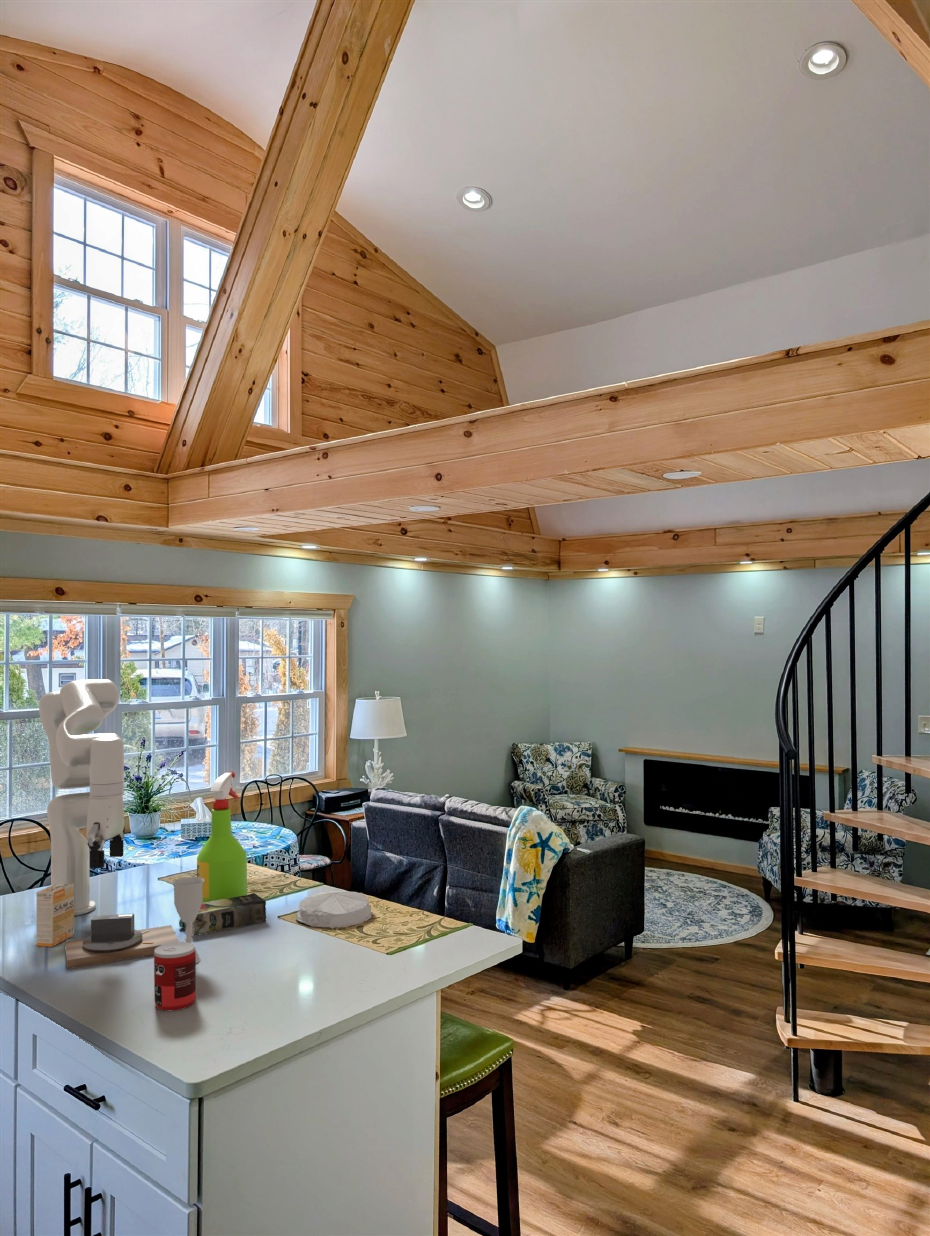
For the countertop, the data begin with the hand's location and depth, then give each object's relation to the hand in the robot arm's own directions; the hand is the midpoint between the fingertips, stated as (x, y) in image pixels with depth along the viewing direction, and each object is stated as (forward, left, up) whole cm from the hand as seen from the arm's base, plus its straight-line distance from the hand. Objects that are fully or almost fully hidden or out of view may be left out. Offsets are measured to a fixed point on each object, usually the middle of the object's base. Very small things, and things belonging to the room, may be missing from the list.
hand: (107, 862), depth 205 cm
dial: (+2, +1, -19) cm, 19 cm away
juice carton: (-6, +28, -21) cm, 36 cm away
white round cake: (+1, +55, -21) cm, 59 cm away
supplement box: (-13, -11, -21) cm, 27 cm away
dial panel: (+2, +3, -21) cm, 21 cm away
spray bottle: (-30, +33, -21) cm, 50 cm away
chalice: (+17, +16, -21) cm, 31 cm away
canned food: (+40, +10, -21) cm, 46 cm away
